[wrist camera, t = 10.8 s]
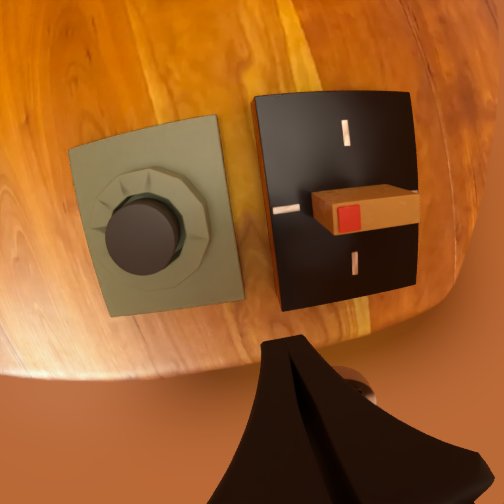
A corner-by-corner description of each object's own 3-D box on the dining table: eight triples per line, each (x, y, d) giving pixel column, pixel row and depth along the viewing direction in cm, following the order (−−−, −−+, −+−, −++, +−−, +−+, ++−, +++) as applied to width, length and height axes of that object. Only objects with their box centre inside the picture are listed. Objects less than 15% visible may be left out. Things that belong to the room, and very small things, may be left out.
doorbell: (244, 291, 21) (247, 314, 18) (115, 309, 20) (101, 332, 17) (217, 116, 17) (214, 110, 14) (75, 149, 17) (52, 150, 14)
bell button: (186, 258, 17) (182, 270, 15) (125, 267, 17) (115, 280, 15) (173, 191, 16) (167, 197, 14) (109, 204, 16) (97, 211, 14)
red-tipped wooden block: (386, 183, 16) (423, 194, 13) (387, 208, 17) (423, 224, 13) (310, 192, 16) (333, 205, 13) (313, 218, 17) (335, 237, 13)
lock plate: (398, 270, 21) (417, 285, 18) (275, 293, 21) (282, 313, 18) (389, 96, 17) (411, 91, 15) (250, 103, 17) (254, 95, 14)
